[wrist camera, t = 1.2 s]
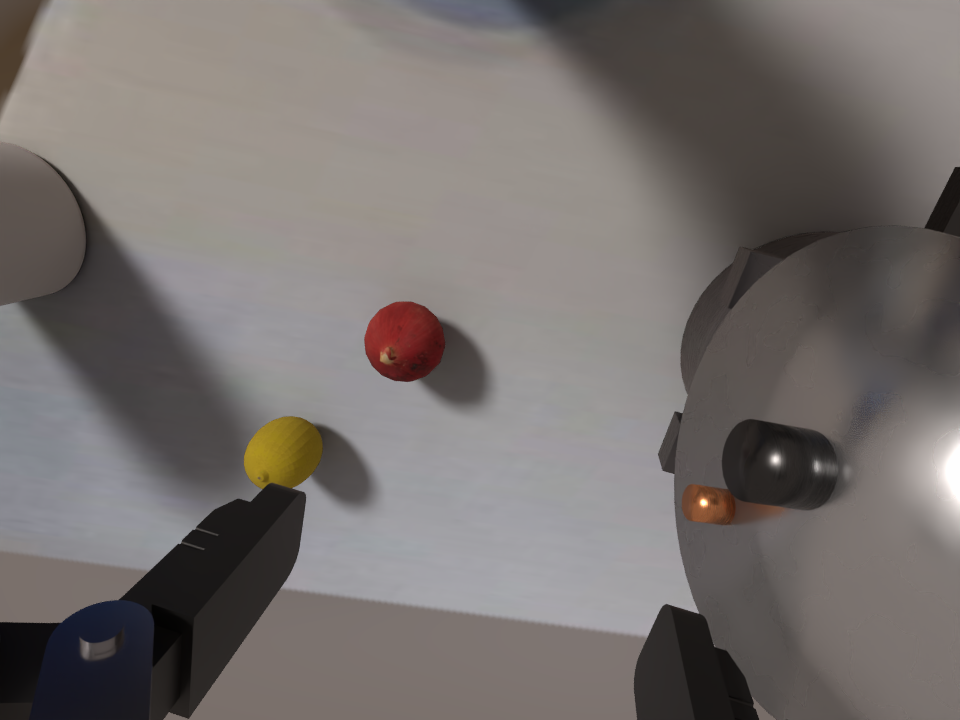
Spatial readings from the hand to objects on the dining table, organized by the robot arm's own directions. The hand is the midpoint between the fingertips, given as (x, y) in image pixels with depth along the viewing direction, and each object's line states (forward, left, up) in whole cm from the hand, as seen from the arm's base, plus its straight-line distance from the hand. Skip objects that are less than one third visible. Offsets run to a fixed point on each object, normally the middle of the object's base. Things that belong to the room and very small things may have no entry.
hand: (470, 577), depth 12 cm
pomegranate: (+6, -9, -32) cm, 34 cm away
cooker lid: (0, +12, -11) cm, 16 cm away
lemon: (+18, -17, -32) cm, 40 cm away
